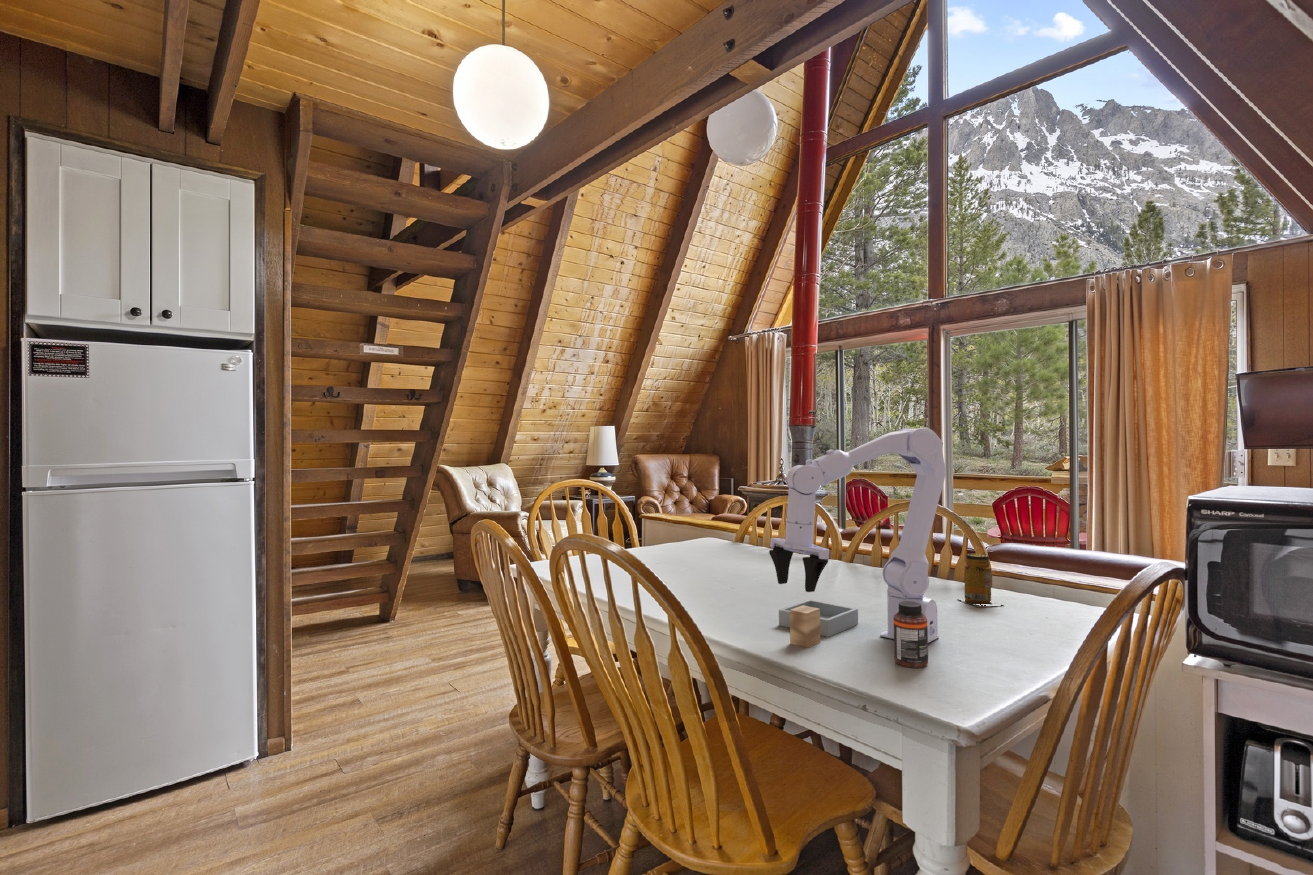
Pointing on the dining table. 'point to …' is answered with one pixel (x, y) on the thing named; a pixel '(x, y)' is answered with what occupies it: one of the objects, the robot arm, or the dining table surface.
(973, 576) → the condiment
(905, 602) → the supplement bottle
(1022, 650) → the dining table surface
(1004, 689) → the dining table surface
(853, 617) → the tray
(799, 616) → the carton
